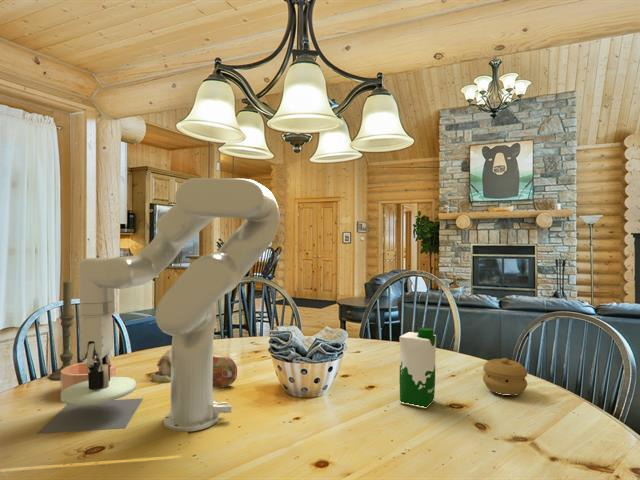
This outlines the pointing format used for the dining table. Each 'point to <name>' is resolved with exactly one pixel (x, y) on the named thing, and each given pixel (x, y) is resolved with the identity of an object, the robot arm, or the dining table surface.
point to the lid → (98, 390)
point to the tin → (223, 371)
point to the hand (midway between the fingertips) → (99, 384)
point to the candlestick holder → (65, 330)
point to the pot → (505, 376)
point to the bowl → (79, 374)
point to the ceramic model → (163, 369)
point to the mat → (93, 416)
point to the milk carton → (417, 367)
